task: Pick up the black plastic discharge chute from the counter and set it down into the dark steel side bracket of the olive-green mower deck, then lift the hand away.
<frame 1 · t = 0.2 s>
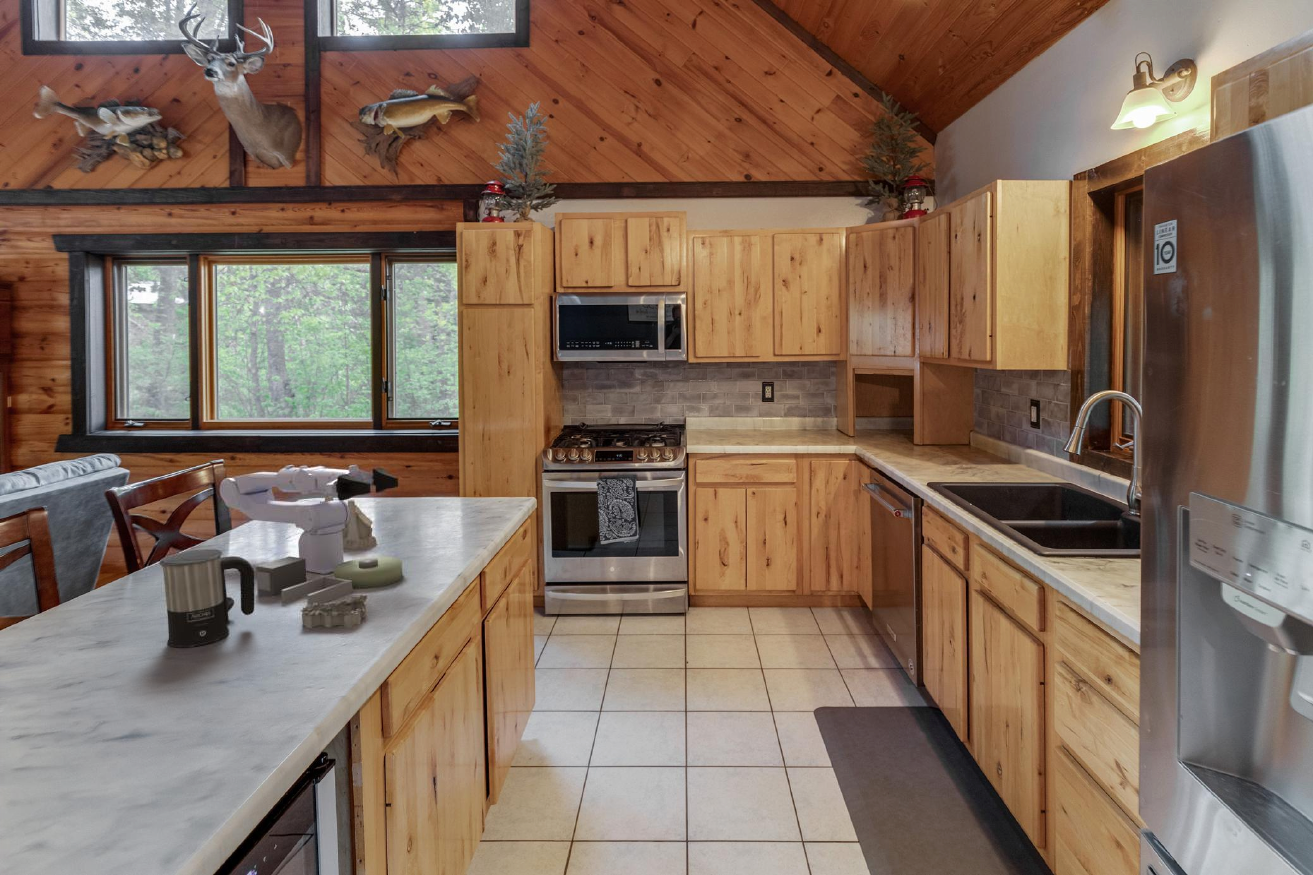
hand: (383, 485, 158), 21 cm above the countertop, tool horizontal, fingers open, 7 cm apart
ceramic cottage: (348, 544, 192), on the countertop
discharge chute: (282, 589, 154), on the countertop
mower deck: (369, 578, 161), on the countertop
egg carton: (334, 623, 136), on the countertop
milk frother: (203, 631, 131), on the countertop
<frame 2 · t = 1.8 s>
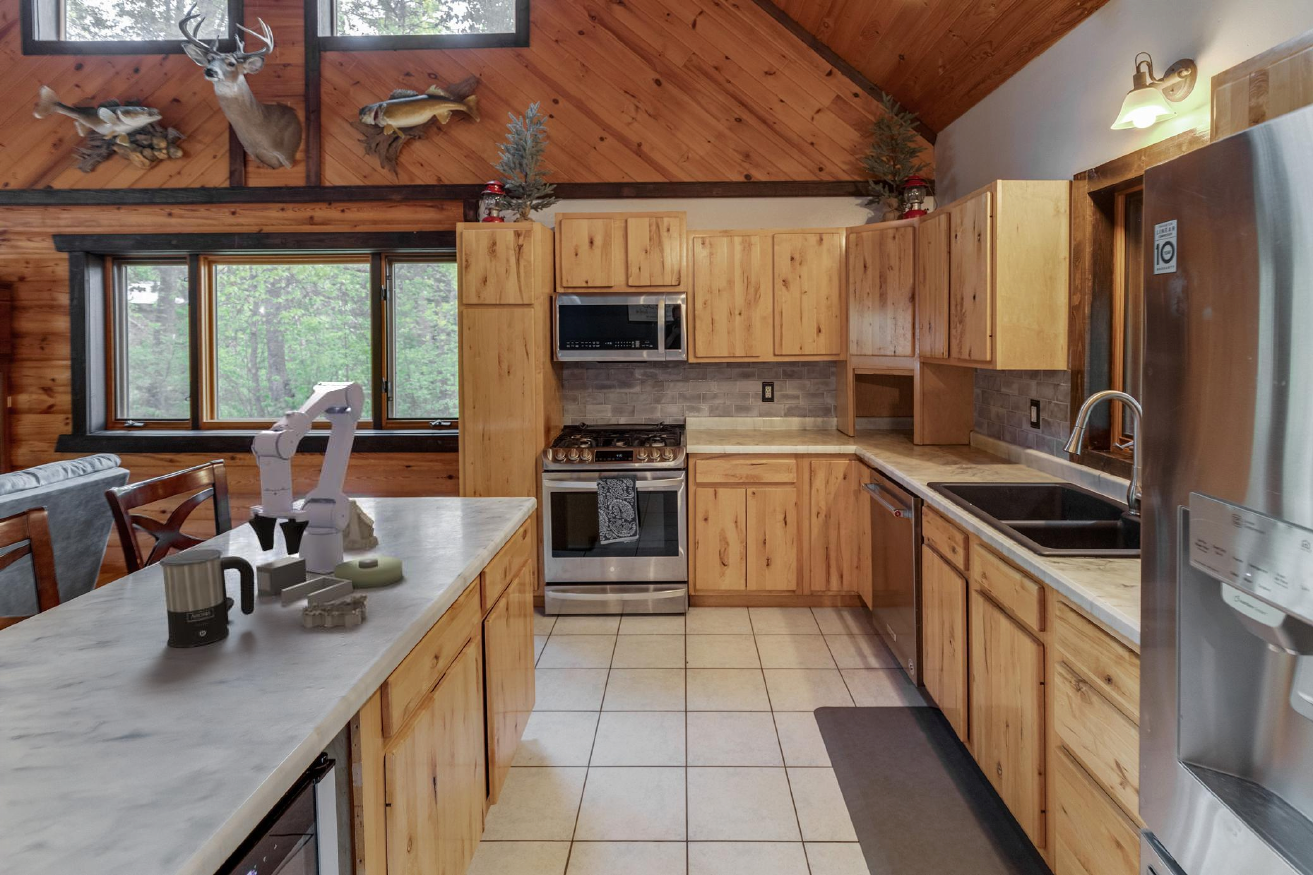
hand: (280, 552, 153), 8 cm above the countertop, tool pointing down, fingers open, 7 cm apart
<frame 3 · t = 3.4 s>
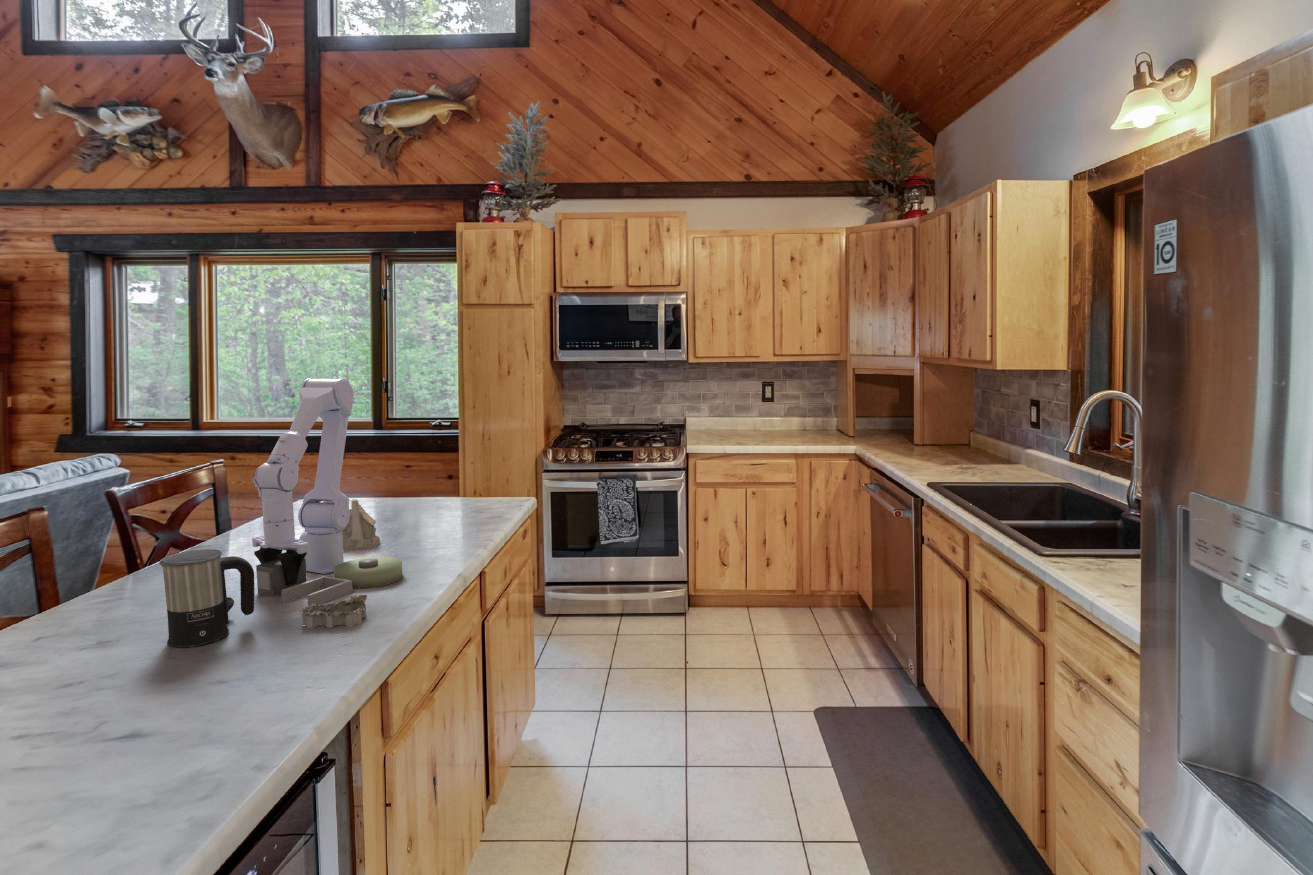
hand: (282, 582, 154), 1 cm above the countertop, tool pointing down, fingers closed on discharge chute, 5 cm apart
discharge chute: (282, 589, 154), on the countertop, touching gripper
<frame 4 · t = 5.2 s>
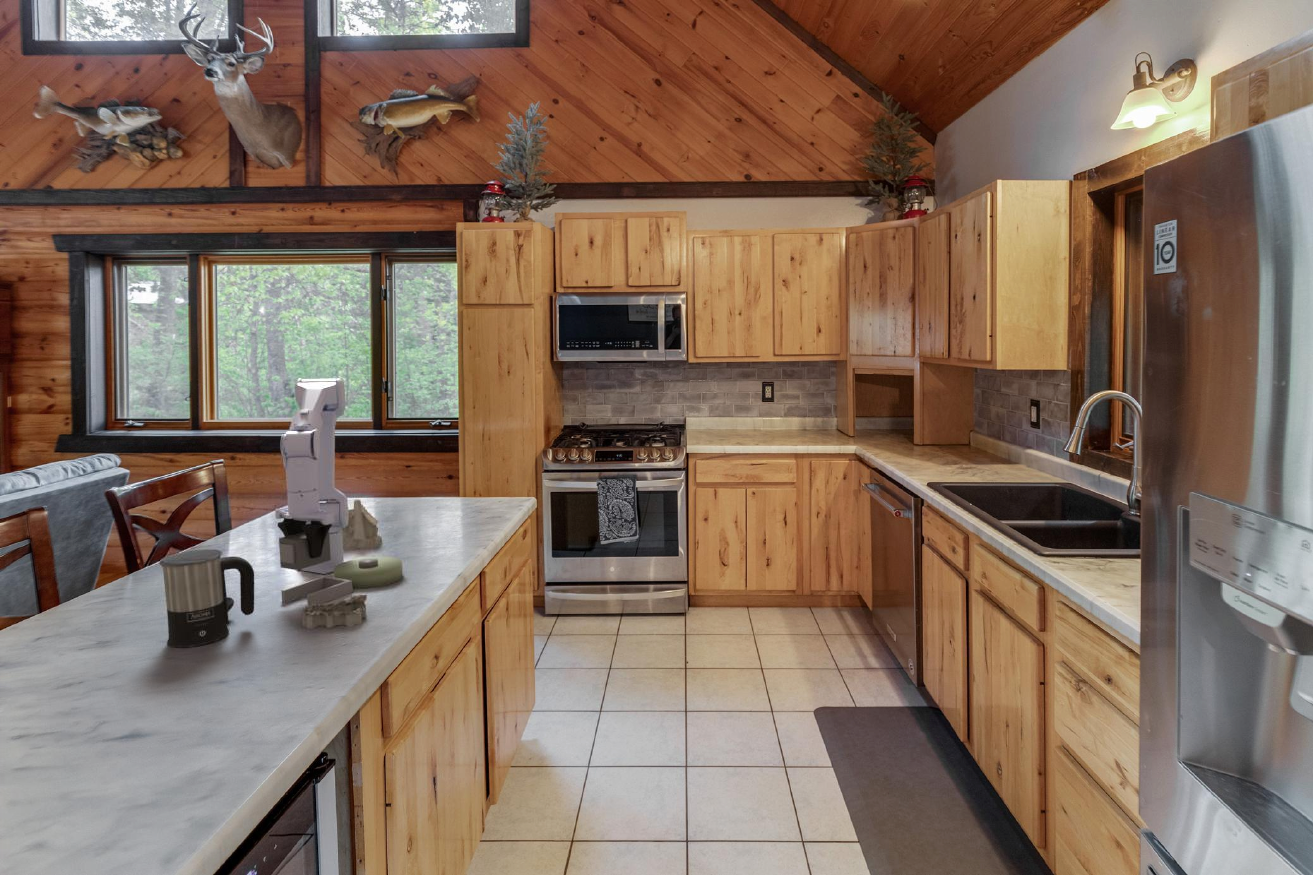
hand: (306, 555, 149), 8 cm above the countertop, tool pointing down, fingers closed on discharge chute, 5 cm apart
discharge chute: (306, 563, 149), point 7 cm above the countertop, touching gripper
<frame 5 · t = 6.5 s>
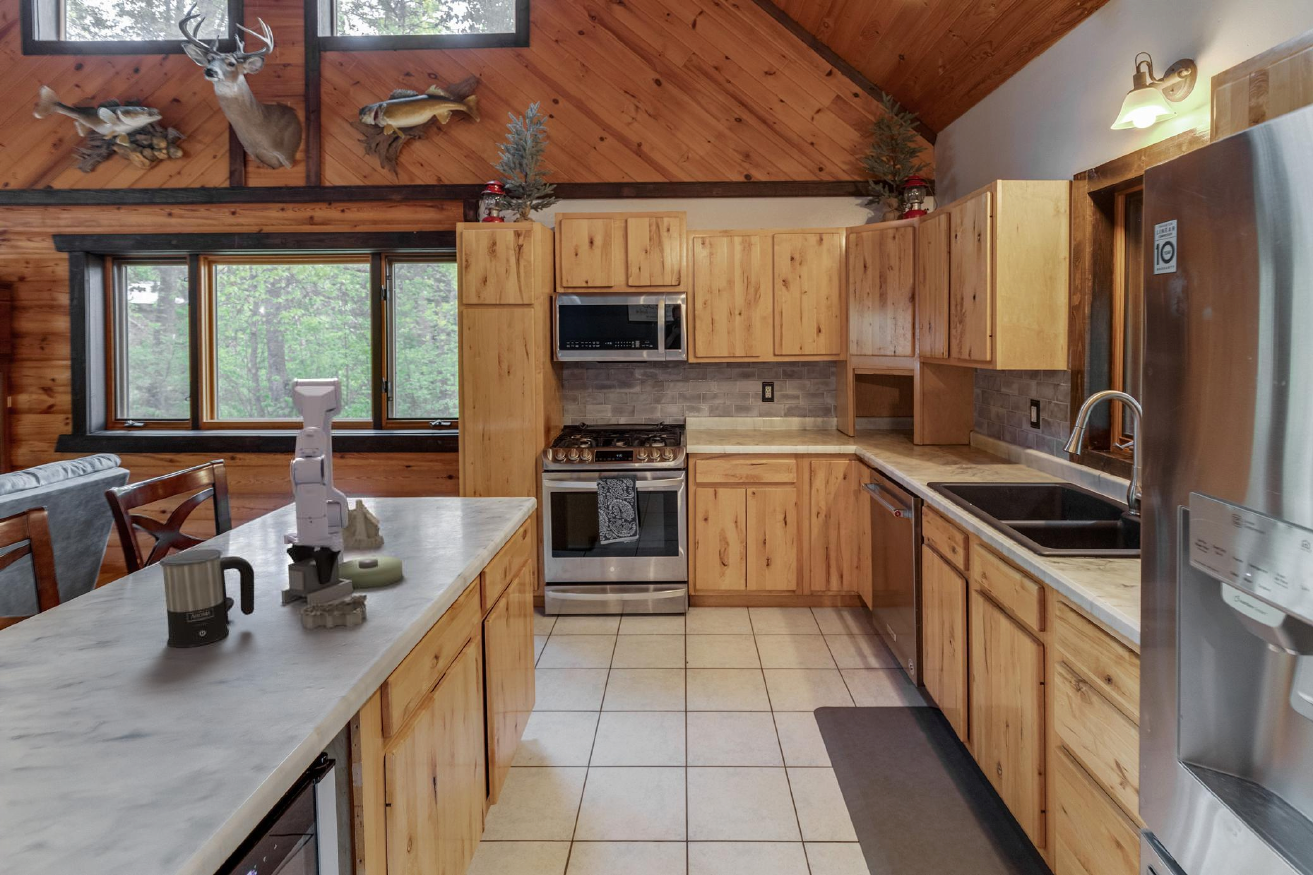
hand: (315, 581, 148), 3 cm above the countertop, tool pointing down, fingers closed on discharge chute, 5 cm apart
discharge chute: (315, 589, 148), point 2 cm above the countertop, touching gripper
when the fingers open (3 cm above the countertop, at t = 7.2 s): discharge chute drops 2 cm, resting in mower deck.
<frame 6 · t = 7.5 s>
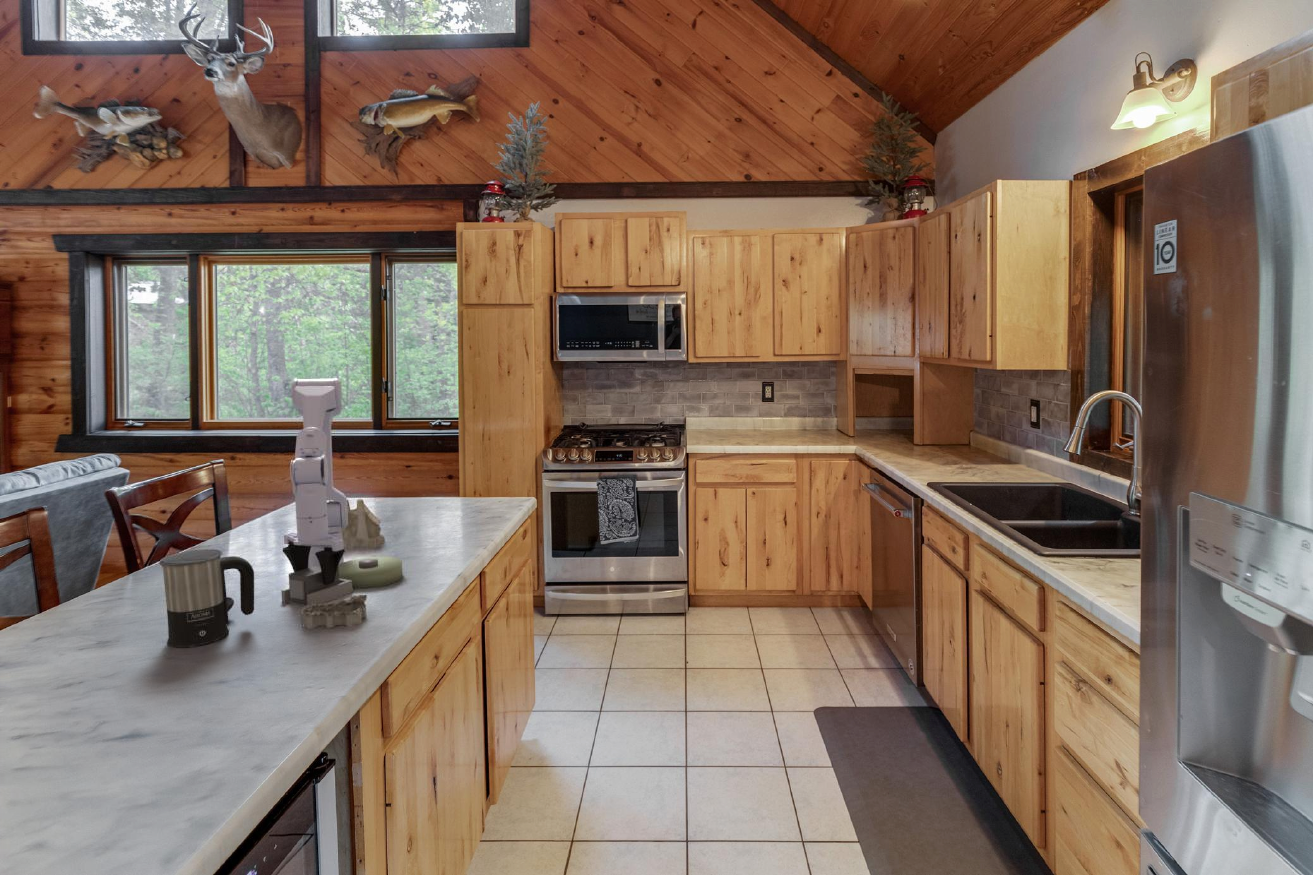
hand: (315, 581, 148), 3 cm above the countertop, tool pointing down, fingers open, 7 cm apart
discharge chute: (315, 598, 148), resting in mower deck
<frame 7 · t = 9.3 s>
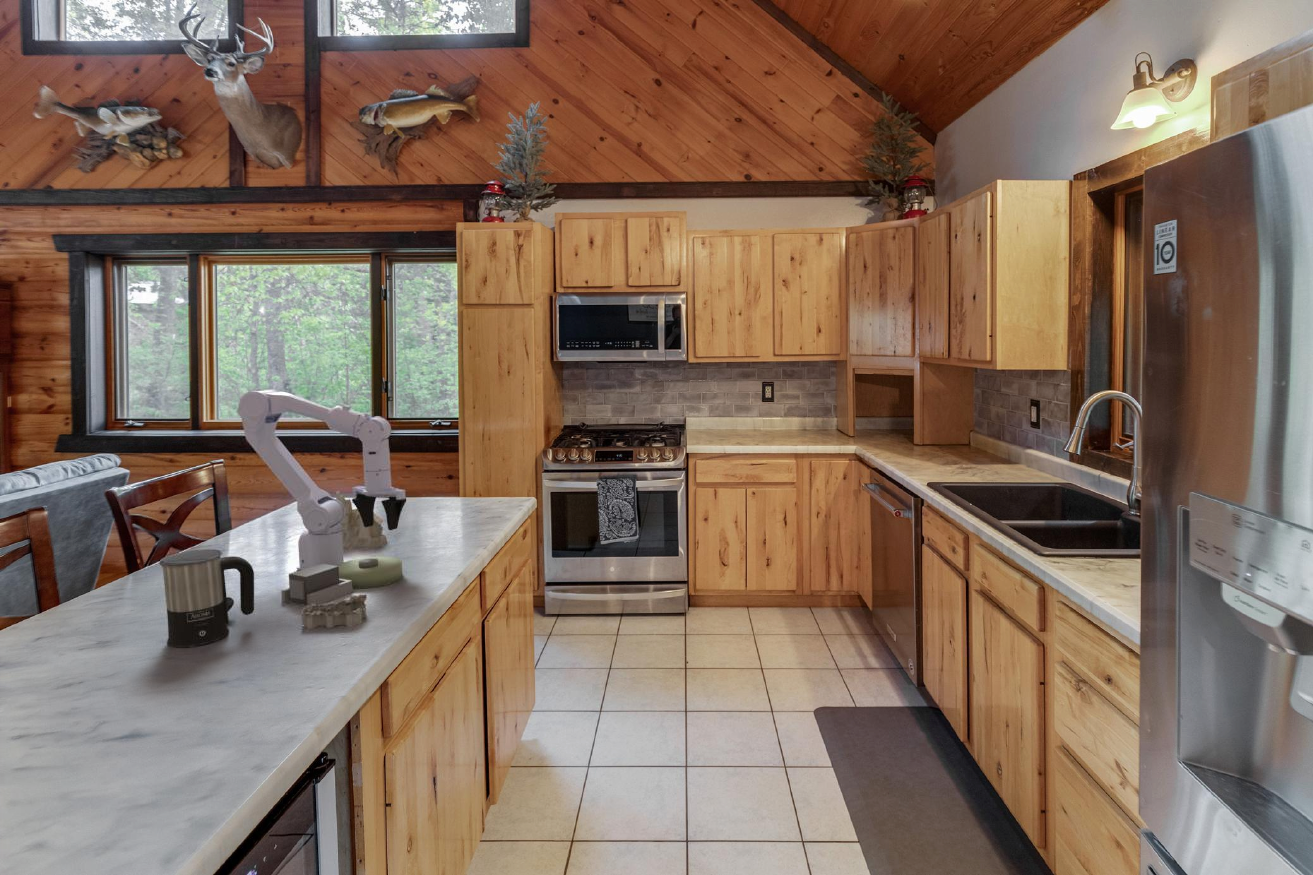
hand: (380, 527, 169), 9 cm above the countertop, tool pointing down, fingers open, 7 cm apart
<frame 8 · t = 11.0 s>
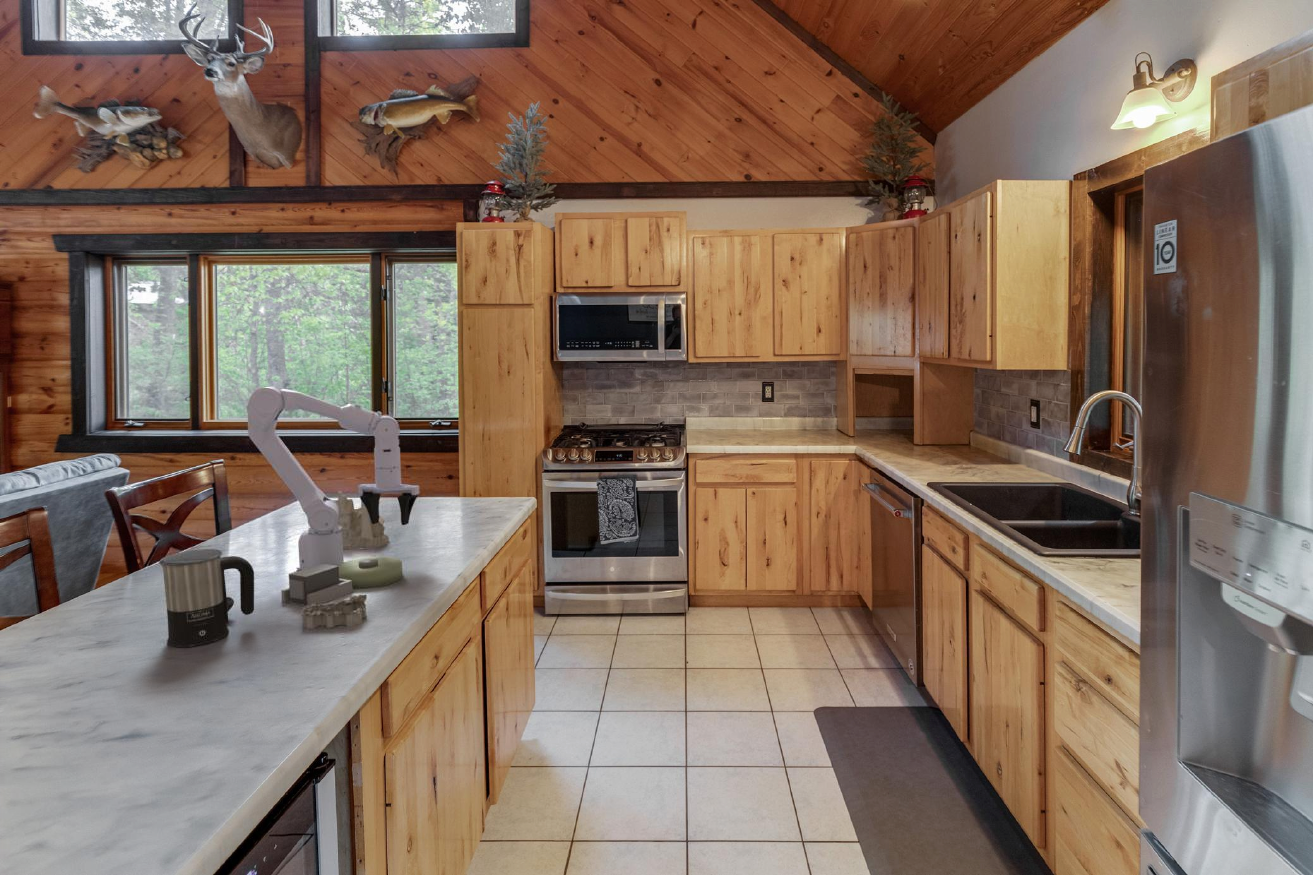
hand: (390, 523, 173), 9 cm above the countertop, tool pointing down, fingers open, 7 cm apart
at the end: discharge chute 0.2 cm from the target spot on the mower deck, point 0.0 cm above the mower deck's base; discharge chute tilted 0°; the gripper is holding nothing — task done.
